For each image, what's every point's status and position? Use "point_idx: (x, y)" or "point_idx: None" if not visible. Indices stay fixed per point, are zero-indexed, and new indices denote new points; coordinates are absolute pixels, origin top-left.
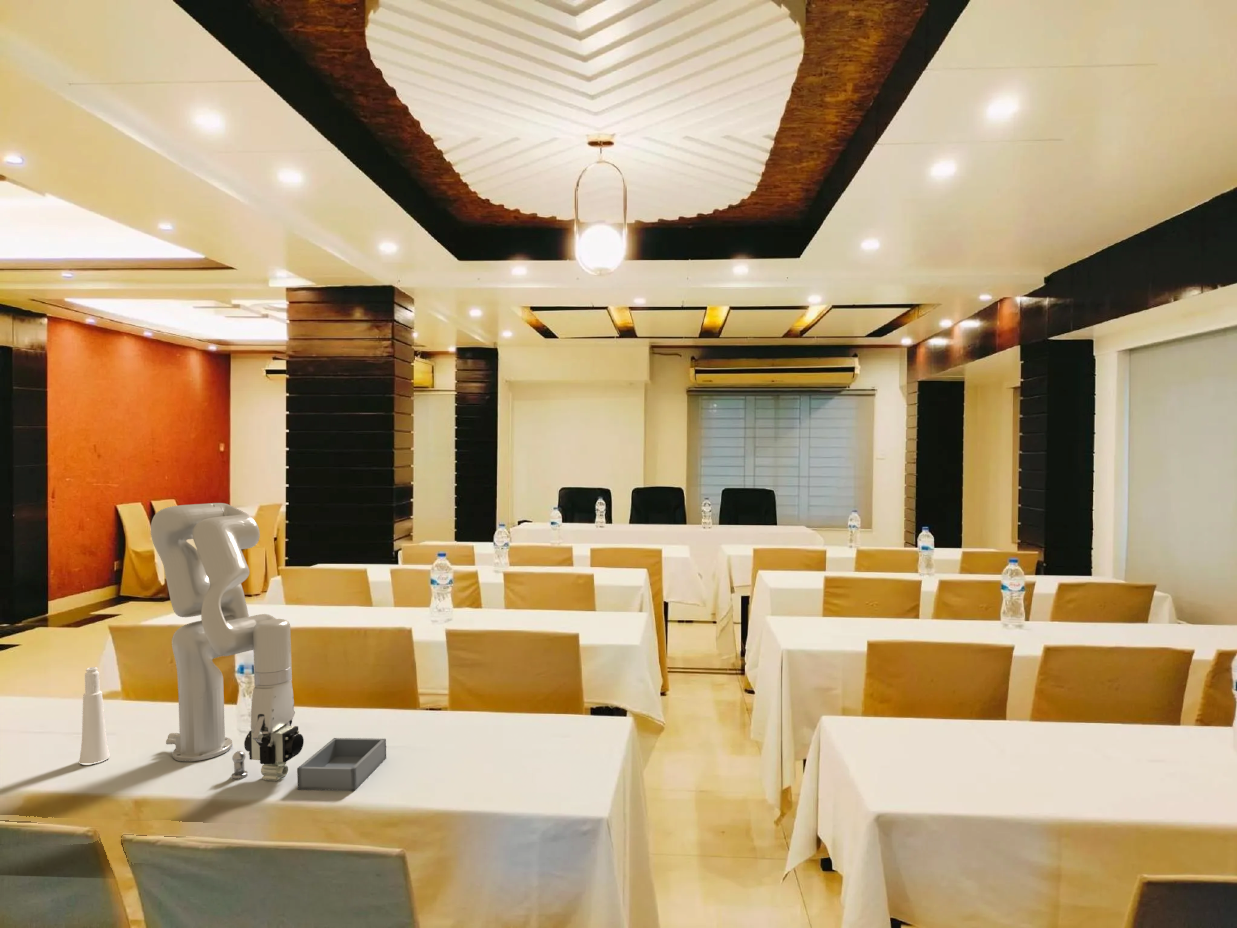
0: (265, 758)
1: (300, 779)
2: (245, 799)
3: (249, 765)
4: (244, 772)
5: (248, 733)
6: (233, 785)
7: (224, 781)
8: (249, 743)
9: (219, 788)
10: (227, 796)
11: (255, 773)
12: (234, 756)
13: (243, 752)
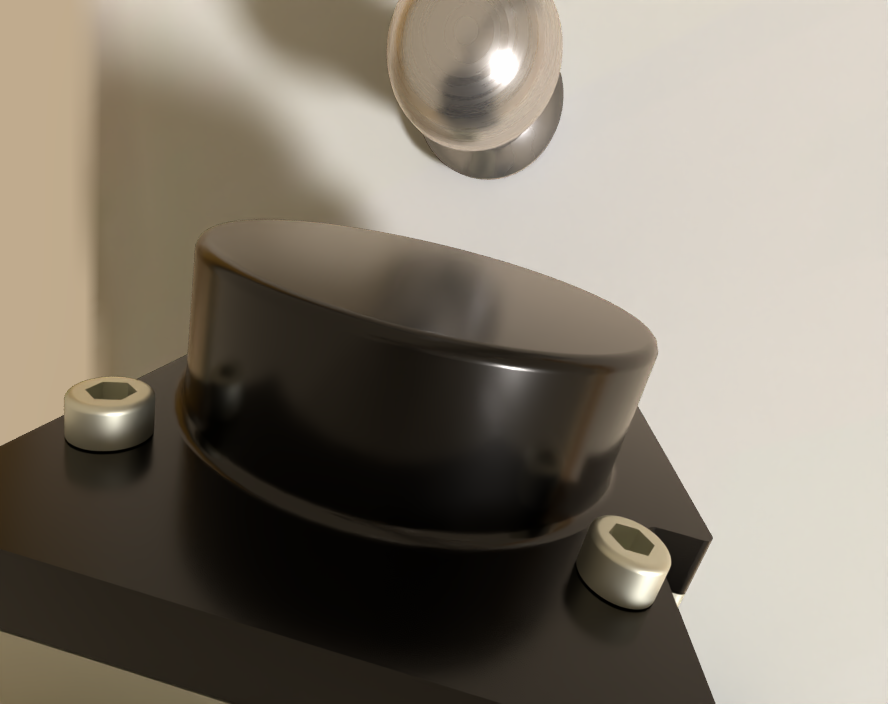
0: None
1: None
2: (105, 357)
3: (764, 74)
4: (503, 147)
5: (273, 296)
6: (307, 148)
7: (389, 4)
8: (182, 362)
9: (250, 42)
10: (128, 201)
11: (539, 236)
12: (397, 11)
13: (491, 110)
